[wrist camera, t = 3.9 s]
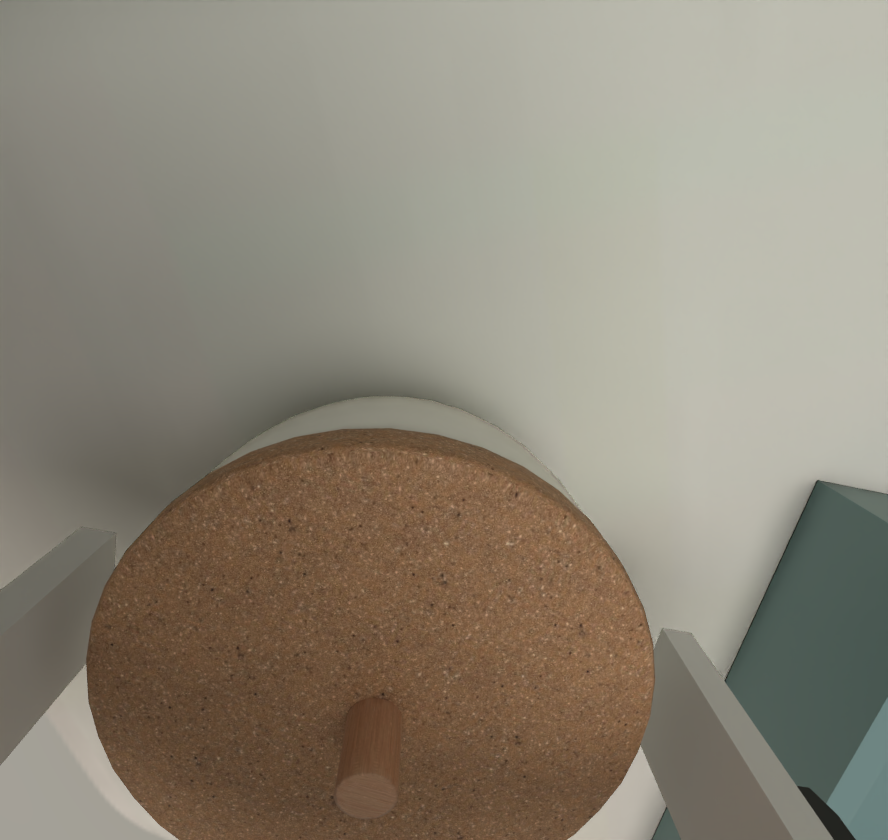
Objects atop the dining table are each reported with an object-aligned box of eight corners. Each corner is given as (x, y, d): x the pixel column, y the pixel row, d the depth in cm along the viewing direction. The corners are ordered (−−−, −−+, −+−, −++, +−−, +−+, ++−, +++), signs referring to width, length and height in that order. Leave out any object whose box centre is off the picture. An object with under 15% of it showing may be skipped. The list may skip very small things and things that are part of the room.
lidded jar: (484, 688, 20) (529, 1050, 11) (191, 598, 18) (-32, 934, 9) (621, 428, 17) (835, 634, 8) (285, 296, 15) (90, 369, 6)
